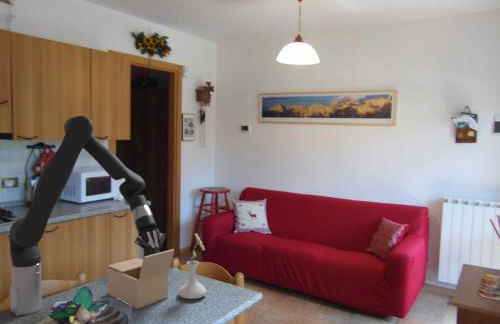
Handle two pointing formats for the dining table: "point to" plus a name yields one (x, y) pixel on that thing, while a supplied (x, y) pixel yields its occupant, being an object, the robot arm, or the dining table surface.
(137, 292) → the carton
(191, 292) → the flower in vase
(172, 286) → the dining table surface
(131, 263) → the back flap
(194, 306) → the dining table surface
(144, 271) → the front flap
